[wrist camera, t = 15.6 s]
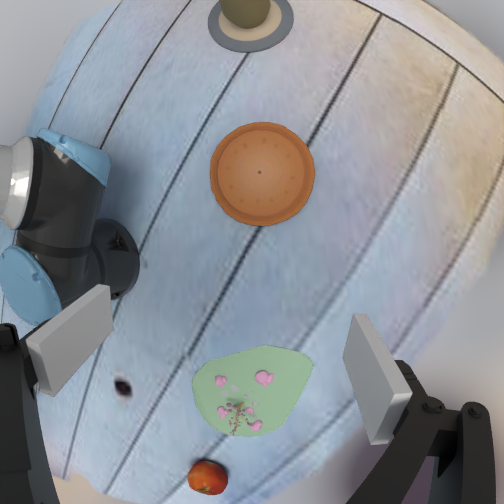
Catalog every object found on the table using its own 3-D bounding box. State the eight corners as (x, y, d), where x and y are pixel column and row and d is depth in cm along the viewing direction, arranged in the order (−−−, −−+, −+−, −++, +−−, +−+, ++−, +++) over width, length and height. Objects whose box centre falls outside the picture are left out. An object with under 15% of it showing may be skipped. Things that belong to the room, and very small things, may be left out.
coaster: (200, 49, 46) (198, 47, 45) (220, -11, 43) (219, -14, 42) (285, 57, 44) (285, 55, 43) (299, -6, 41) (299, -9, 40)
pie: (287, 111, 46) (286, 102, 41) (329, 200, 47) (332, 200, 42) (200, 152, 49) (190, 148, 44) (239, 239, 50) (233, 243, 46)
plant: (245, 311, 53) (234, 332, 44) (337, 375, 52) (342, 404, 43) (176, 396, 58) (159, 422, 50) (256, 447, 58) (250, 476, 49)
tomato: (189, 454, 61) (178, 476, 53) (227, 457, 59) (219, 481, 51) (198, 477, 62) (189, 499, 54) (234, 480, 60) (227, 504, 53)
